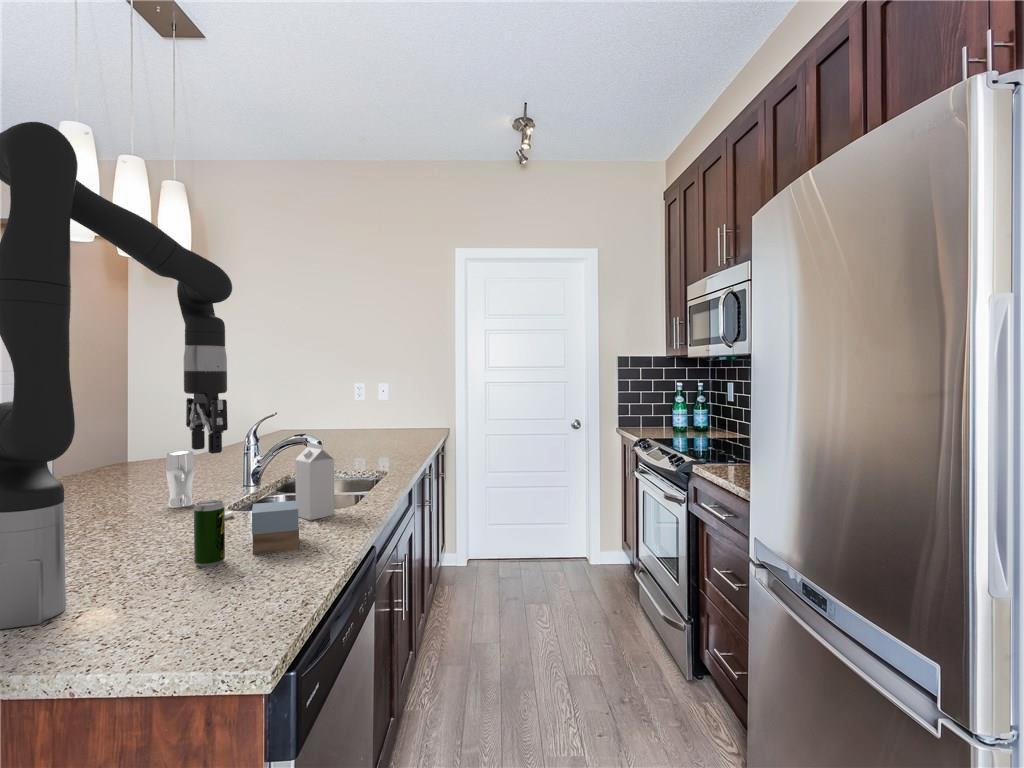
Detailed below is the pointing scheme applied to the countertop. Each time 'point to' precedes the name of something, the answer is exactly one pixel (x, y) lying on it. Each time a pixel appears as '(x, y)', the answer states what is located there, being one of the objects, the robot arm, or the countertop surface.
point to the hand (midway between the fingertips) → (206, 451)
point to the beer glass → (180, 478)
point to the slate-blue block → (274, 517)
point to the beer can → (209, 533)
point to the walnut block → (276, 542)
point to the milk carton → (314, 483)
